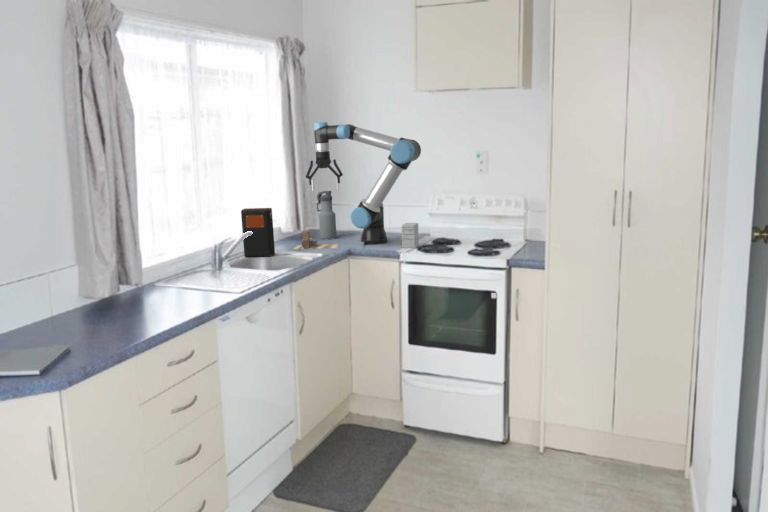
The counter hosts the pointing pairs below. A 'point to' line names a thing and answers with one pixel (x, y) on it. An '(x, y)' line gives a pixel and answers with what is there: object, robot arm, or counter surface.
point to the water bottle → (326, 216)
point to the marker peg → (306, 239)
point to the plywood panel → (319, 246)
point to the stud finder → (311, 243)
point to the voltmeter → (258, 232)
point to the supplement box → (410, 235)
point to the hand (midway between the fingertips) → (325, 190)
